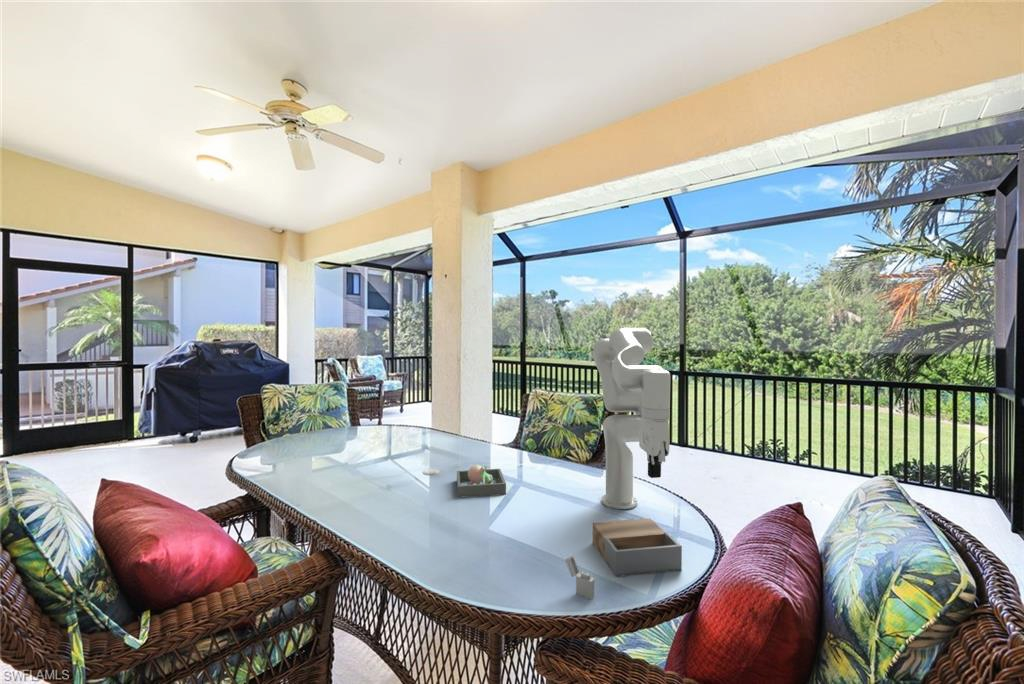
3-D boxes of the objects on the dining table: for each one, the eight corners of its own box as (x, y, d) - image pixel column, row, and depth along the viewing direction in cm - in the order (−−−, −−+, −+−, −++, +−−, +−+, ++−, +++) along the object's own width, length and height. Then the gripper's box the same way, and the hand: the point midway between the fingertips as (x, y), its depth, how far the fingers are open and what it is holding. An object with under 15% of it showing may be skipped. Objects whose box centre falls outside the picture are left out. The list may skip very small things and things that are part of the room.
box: (604, 560, 123) (604, 537, 123) (666, 554, 126) (666, 532, 126) (615, 576, 115) (615, 551, 115) (681, 570, 118) (681, 546, 118)
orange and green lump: (490, 478, 172) (502, 474, 179) (474, 458, 176) (487, 455, 184) (472, 499, 175) (485, 494, 183) (457, 479, 179) (471, 475, 187)
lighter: (594, 596, 107) (594, 563, 107) (591, 599, 106) (591, 566, 106) (568, 585, 112) (568, 554, 111) (565, 589, 110) (565, 556, 110)
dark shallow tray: (456, 480, 187) (456, 471, 187) (500, 478, 189) (500, 468, 189) (458, 497, 169) (458, 486, 169) (506, 494, 172) (505, 483, 171)
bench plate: (592, 542, 133) (592, 522, 133) (650, 538, 136) (650, 518, 135) (604, 560, 123) (604, 538, 123) (666, 554, 126) (666, 533, 126)
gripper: (632, 407, 134) (631, 468, 136) (654, 420, 119) (653, 488, 121) (656, 406, 135) (654, 466, 137) (681, 419, 120) (679, 486, 122)
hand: (654, 476), depth 129 cm, fingers closed
